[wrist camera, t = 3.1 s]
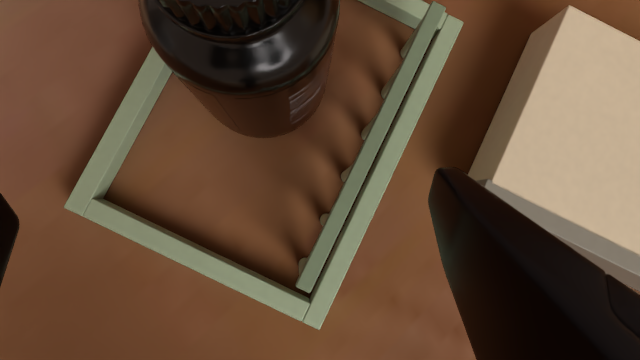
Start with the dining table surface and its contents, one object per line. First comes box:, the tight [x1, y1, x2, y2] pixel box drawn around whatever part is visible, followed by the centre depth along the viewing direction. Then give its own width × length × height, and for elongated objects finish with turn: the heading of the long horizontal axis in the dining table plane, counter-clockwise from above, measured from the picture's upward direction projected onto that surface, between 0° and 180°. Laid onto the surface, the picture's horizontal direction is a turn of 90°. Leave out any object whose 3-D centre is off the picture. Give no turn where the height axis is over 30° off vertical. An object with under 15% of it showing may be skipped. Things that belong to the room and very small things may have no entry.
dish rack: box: [64, 0, 463, 329], centre depth 19 cm, size 18×14×5 cm
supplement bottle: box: [138, 0, 340, 138], centre depth 15 cm, size 7×7×12 cm
